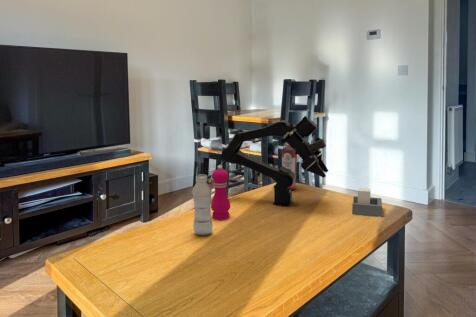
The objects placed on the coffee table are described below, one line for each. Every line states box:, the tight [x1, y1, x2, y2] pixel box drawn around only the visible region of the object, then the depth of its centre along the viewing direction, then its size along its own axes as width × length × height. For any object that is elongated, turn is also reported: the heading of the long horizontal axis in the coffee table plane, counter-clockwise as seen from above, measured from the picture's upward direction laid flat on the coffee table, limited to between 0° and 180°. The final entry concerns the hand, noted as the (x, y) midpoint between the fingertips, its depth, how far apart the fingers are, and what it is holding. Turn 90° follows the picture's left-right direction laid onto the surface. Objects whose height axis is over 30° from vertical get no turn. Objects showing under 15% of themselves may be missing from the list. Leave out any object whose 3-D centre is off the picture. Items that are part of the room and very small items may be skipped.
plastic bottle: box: [191, 173, 214, 236], centre depth 129 cm, size 6×7×20 cm
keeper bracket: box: [351, 195, 383, 217], centre depth 152 cm, size 10×11×4 cm
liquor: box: [281, 130, 298, 191], centre depth 181 cm, size 7×7×28 cm
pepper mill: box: [210, 164, 231, 221], centre depth 145 cm, size 7×7×20 cm
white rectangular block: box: [357, 187, 372, 204], centre depth 152 cm, size 4×4×8 cm
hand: (326, 174), depth 155 cm, fingers open, 9 cm apart
